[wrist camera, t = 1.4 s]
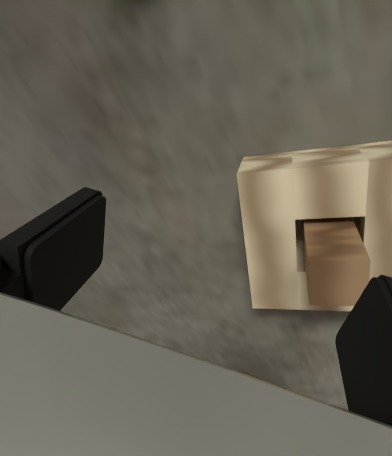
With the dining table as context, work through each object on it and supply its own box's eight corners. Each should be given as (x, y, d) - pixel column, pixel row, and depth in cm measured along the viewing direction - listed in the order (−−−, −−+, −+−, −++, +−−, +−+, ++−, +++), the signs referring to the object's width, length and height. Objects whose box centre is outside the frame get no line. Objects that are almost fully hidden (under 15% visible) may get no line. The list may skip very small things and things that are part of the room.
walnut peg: (345, 203, 33) (370, 260, 23) (344, 239, 35) (366, 306, 25) (301, 205, 34) (308, 261, 25) (302, 241, 36) (309, 305, 27)
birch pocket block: (413, 138, 30) (440, 154, 24) (396, 277, 36) (414, 313, 31) (243, 156, 34) (236, 173, 29) (256, 277, 41) (252, 308, 36)
